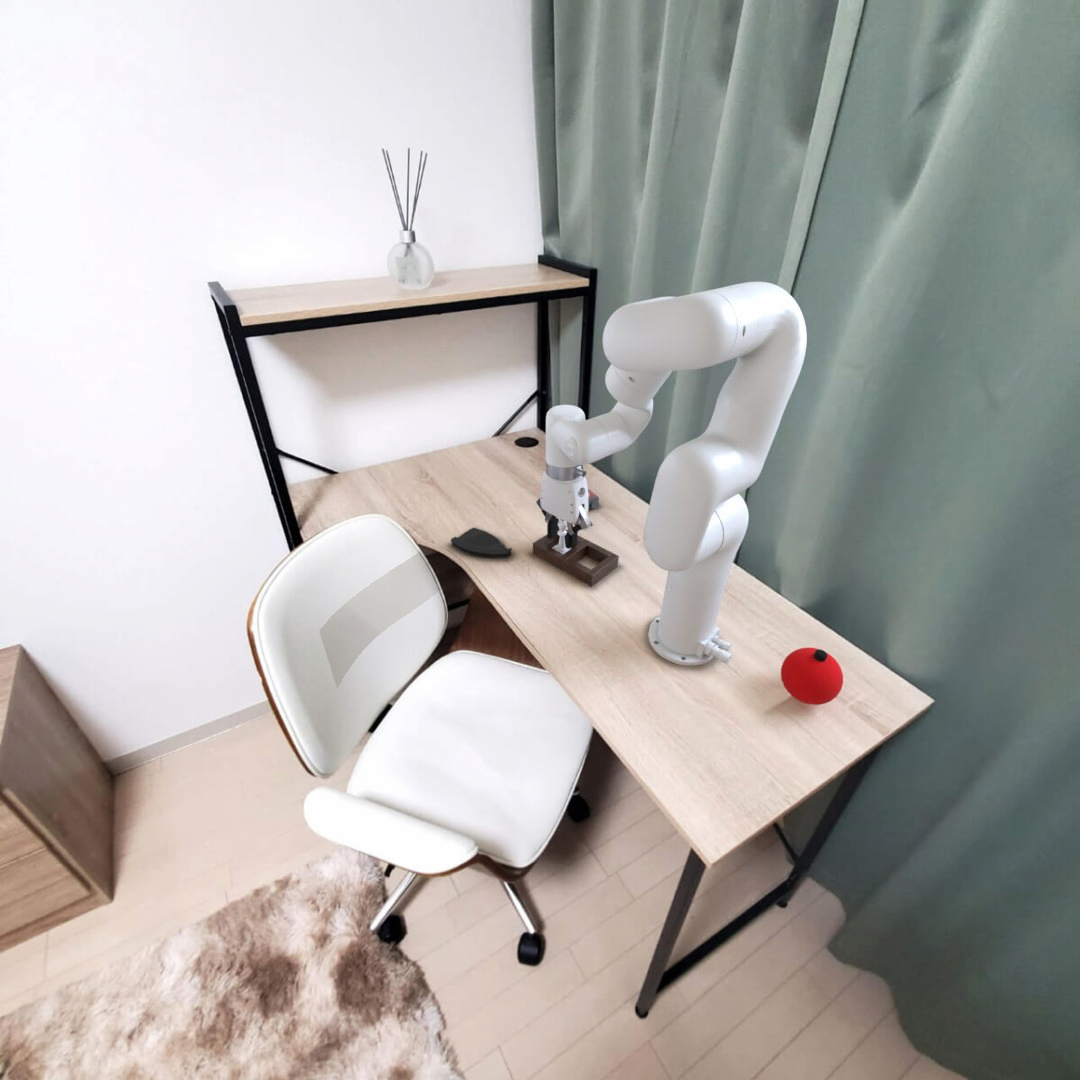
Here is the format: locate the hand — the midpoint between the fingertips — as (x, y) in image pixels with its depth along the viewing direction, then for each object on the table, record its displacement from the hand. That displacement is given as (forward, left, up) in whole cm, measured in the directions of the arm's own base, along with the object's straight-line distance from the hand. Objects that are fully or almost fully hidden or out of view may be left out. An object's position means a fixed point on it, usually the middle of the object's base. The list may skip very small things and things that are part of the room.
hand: (561, 540), depth 117 cm
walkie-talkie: (+9, -18, -4) cm, 21 cm away
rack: (-4, 0, -4) cm, 5 cm away
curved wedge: (+15, +11, -4) cm, 19 cm away
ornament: (-55, +2, -4) cm, 55 cm away
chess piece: (0, 0, -4) cm, 4 cm away
